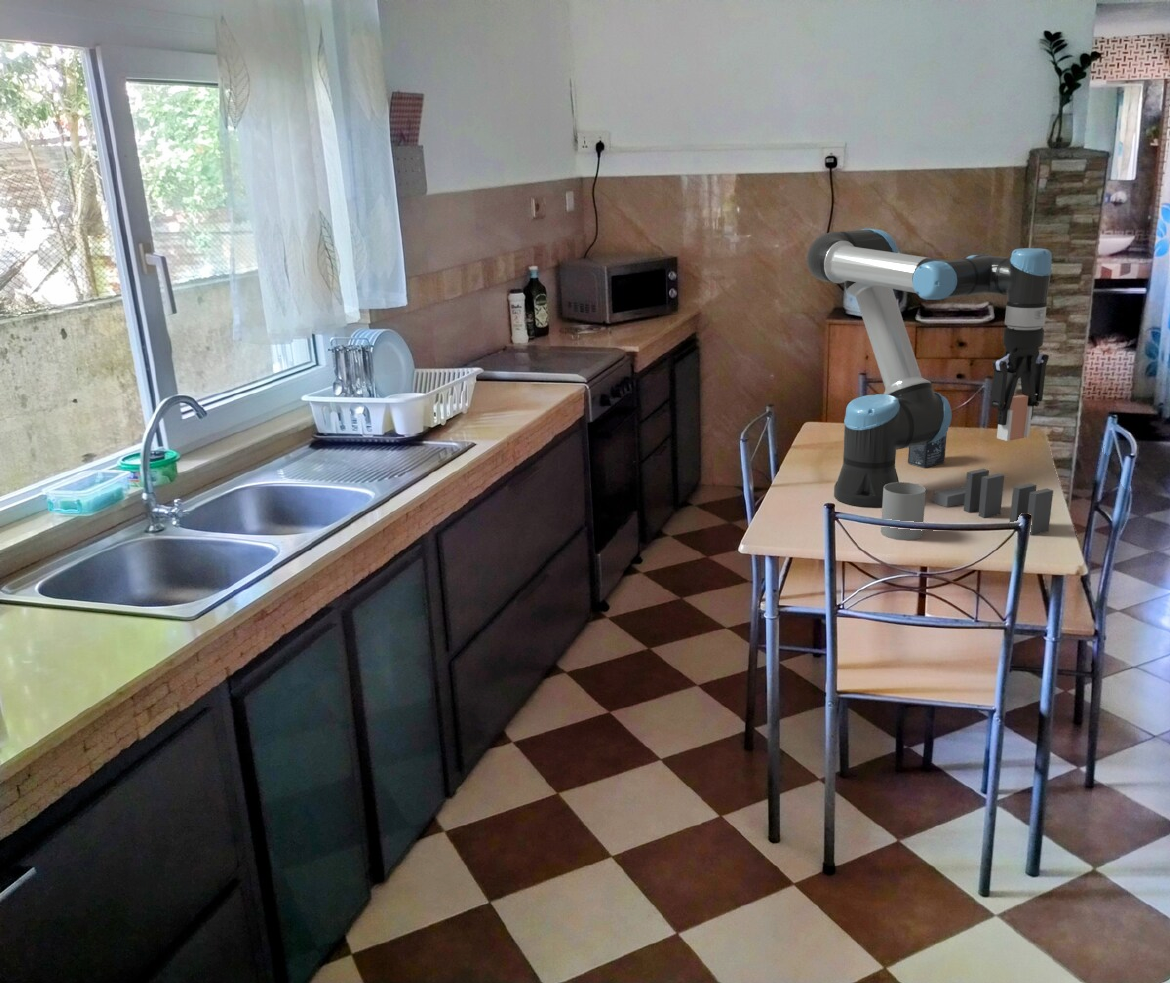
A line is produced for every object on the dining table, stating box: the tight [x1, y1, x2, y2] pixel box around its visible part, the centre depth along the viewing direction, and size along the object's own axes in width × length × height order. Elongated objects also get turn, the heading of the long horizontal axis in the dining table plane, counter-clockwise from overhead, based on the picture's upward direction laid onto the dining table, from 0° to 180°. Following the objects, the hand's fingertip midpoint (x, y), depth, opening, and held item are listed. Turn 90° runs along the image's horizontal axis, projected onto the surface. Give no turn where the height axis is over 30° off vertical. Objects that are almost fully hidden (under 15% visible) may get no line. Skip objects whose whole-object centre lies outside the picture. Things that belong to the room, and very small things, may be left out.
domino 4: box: [1009, 482, 1037, 523], centre depth 213 cm, size 5×2×9 cm, turn 116°
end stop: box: [933, 485, 966, 508], centre depth 230 cm, size 8×4×2 cm, turn 116°
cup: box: [880, 481, 927, 541], centre depth 211 cm, size 8×8×10 cm
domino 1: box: [963, 468, 990, 513], centre depth 224 cm, size 5×2×9 cm, turn 116°
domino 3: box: [1003, 394, 1028, 442], centre depth 211 cm, size 5×2×9 cm, turn 116°
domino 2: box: [977, 472, 1005, 519], centre depth 220 cm, size 5×2×9 cm, turn 116°
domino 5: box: [1028, 488, 1054, 536], centre depth 209 cm, size 5×2×9 cm, turn 116°
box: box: [907, 432, 948, 469], centre depth 258 cm, size 8×6×11 cm
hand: (1013, 437), depth 212 cm, fingers closed on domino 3, 5 cm apart
